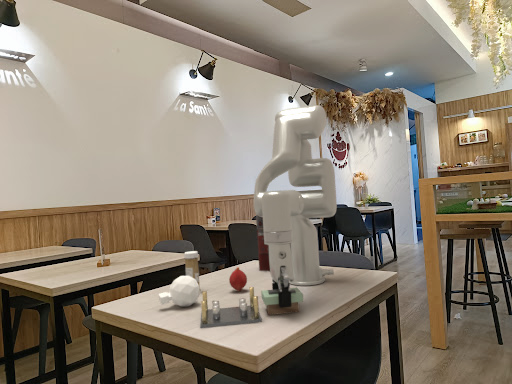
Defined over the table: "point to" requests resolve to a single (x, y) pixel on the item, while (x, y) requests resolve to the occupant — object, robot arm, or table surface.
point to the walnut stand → (282, 309)
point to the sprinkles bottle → (192, 265)
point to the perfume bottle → (181, 292)
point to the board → (272, 296)
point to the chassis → (230, 312)
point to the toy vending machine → (262, 246)
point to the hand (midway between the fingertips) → (281, 301)
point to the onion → (238, 279)
